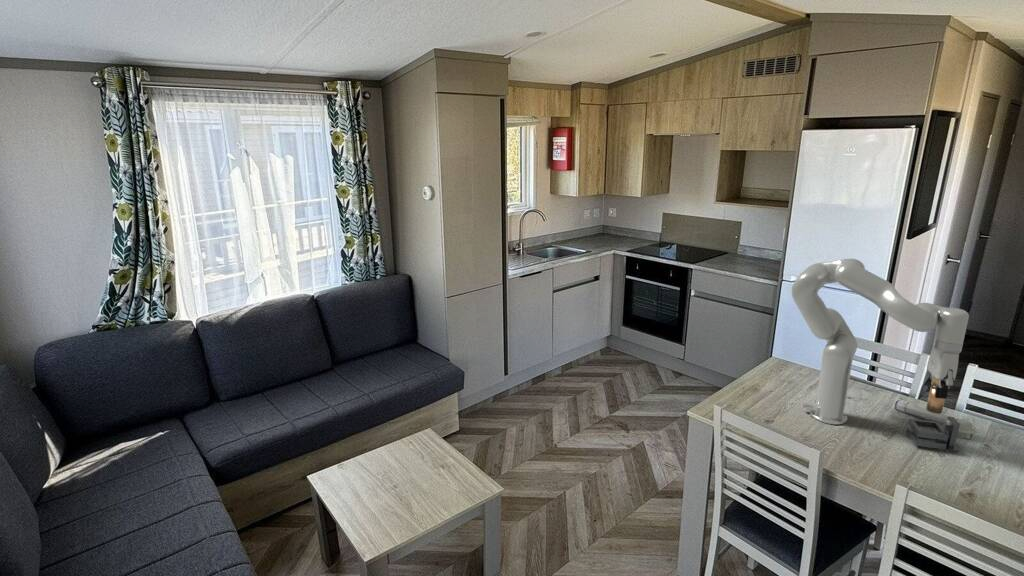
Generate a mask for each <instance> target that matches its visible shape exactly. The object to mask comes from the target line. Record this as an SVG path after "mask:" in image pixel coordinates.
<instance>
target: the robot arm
mask: <svg viewBox="0 0 1024 576" xmlns="http://www.w3.org/2000/svg"><path fill="white" fill-rule="evenodd" d="M793 282H794V283H793V284H792V286H791V287H792V288H791V297H792V300H793V302H794V303H795V305H796V307H797V308H798V310H799V312H800V314H801V316H802V317H803V319H804V321H805V322H806V324H807V326H808V328H809V329H810V332H811V333H812V334H813V335H814V337H815V338H817V339H820V340H822V341H823V340H824V341H826V344H825V345H824V348H823V350H822V355H821V365H820V366H821V367H820V374H819V380H818V381H819V382H818V385H817V386H818V387H817V394H816V400H813V402H811V403H808V402H801V408H803V409H804V408H805V410H806V411H808V412H809V415H810V416H811V417H812V418H813V419H815V420H816V421H819V422H822V423H824V424H827V425H828V424H830V425H843V424H845V423H847V422H848V415H847V414H846V413H845V412H844V411H845V408H846V407H845V406H846V400H847V395H848V390H849V384H850V378H851V372H852V365H853V360H854V357H855V355H856V353H857V350H858V342H857V341H858V340H857V339H856V337H855V336H854V333H853V332H852V330H851V329H850V327H849V326H848V324H847V322H846V320H845V319H844V317H843V316H842V315H841V313H839V312H838V311H837V310H836V309H833V308H830V307H827V306H826V304H825V302H824V300H822V298H821V297H820V295H819V294H818V292H819V291H820V290H821V289H822V288H823V287H824V286H825V285H827V284H835V283H836V284H837V283H838V284H839V285H841V286H843V287H844V288H846V289H848V290H850V291H852V292H853V293H856V294H857V295H859V296H860V297H862V298H864V299H866V300H867V301H869V302H871V303H873V304H874V305H875V306H876V307H877V308H879V309H880V310H881V311H883V312H884V313H885V314H887V315H888V316H889V317H890V318H892V319H893V320H895V321H896V322H898V323H900V324H902V325H904V326H906V327H908V328H909V329H911V330H912V331H917V332H921V333H927V332H931V331H932V330H934V329H935V334H934V339H933V343H932V348H931V351H930V354H929V357H928V361H927V364H926V369H927V370H928V372H929V373H930V380H929V385H928V391H929V392H930V387H931V382H932V377H933V376H934V377H935V378H936V379H938V380H939V384H938V387H937V388H936V393H935V397H936V398H943V399H945V400H946V399H947V398H948V394H949V389H950V387H952V386H953V385H954V383H953V382H954V381H955V380H956V377H957V373H958V367H959V361H960V360H959V359H960V358H959V357H960V353H961V352H962V351H963V345H964V340H965V335H966V331H967V326H968V323H969V317H970V315H969V312H967V311H966V310H965V309H962V308H956V307H945V306H941V305H937V304H934V303H929V302H918V303H917V304H916V303H915V304H914V303H912V302H910V301H909V300H908V299H906V298H905V297H903V295H901V294H900V293H899V292H898V290H897V289H896V287H895V286H894V285H893V284H892V283H891V282H890V281H888V280H886V279H884V278H882V277H881V276H878V275H876V274H875V273H872V272H871V271H869V270H867V269H866V267H865V265H864V263H863V262H862V261H861V260H858V259H855V258H843V259H838V260H831V261H823V262H816V263H813V264H811V265H809V266H808V267H806V269H804V270H803V271H802V272H801V273H800V274H799V275H798V276H797V278H796V279H795V281H793ZM944 377H946V379H943V378H944ZM942 381H946V382H944V383H942Z"/></svg>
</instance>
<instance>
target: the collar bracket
mask: <svg viewBox="0 0 1024 576" xmlns="http://www.w3.org/2000/svg"><path fill="white" fill-rule="evenodd" d="M945 423H946V424H945V426H942V425H941V423H940V422H936V421H933V420H926V419H925V420H923V419H916V418H908V421H907V424H908V426H907V427H906V431H905V432H906V434H907V436H908V437H909V438H910V440H911V441H912V442H913V444H914V445H915V446H917V447H918V446H919V447H924V448H925V447H926V448H933V449H941V450H945V451H946V452H949V453H956V454H958V453H959V451H960V450H959V448H958V447H957V446H956V442H957V437H958V436H957V434H958V430H959V426H960V424H959V423H958V422H957V421H956V420H955V417H954V416H950V417H948V418H947V420H946V422H945ZM921 427H923V428H921ZM926 428H927V429H926ZM928 428H932V429H928ZM922 438H923V439H922ZM924 438H926V439H924ZM929 439H933V440H929Z"/></svg>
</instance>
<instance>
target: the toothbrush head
mask: <svg viewBox="0 0 1024 576" xmlns="http://www.w3.org/2000/svg"><path fill="white" fill-rule="evenodd" d="M894 409H895V411H898V412H902V413H904V414H908V415H912V416H916V417H919V418H921V419H925V420H926V419H927V420H928V421H935V422H939V424H944V425H946V423H945V422H946V420H947V418H948V417H951V416H949V415H946V414H944V413H940V414H937V413H932V412H929V411H928V410H926V408H925V407H922V406H919V405H916V404H913V403H911V402H910V401H907V402H906V401H902V400H896V402H895V403H894ZM954 418H955V417H954ZM955 420H956V421H957V422H958V423H959V424H960V426H959V430H958V434H957V437H958V438H960V437H961V439H963V438H965V439H968V440H973V438H974V435H975V433H976V430H975V429H974V428H973V424H972V422H971V421H970V420H968V419H964V418H955Z"/></svg>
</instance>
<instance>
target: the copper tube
mask: <svg viewBox="0 0 1024 576" xmlns="http://www.w3.org/2000/svg"><path fill="white" fill-rule="evenodd" d="M943 379H946V377H944V378H943ZM931 380H932V382H931V387H930V391H929V393H928V398H927V403H926V410H928V411H929V412H932V413H937V414H940V413H941V414H943V410H944V405H945V400H946V399H943V398H936V397H935V393H936V388H937V387H938V384H939V380H938V379H936V378H935V377H934V376H933V377H932V379H931ZM944 382H946V381H942V383H944Z"/></svg>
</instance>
